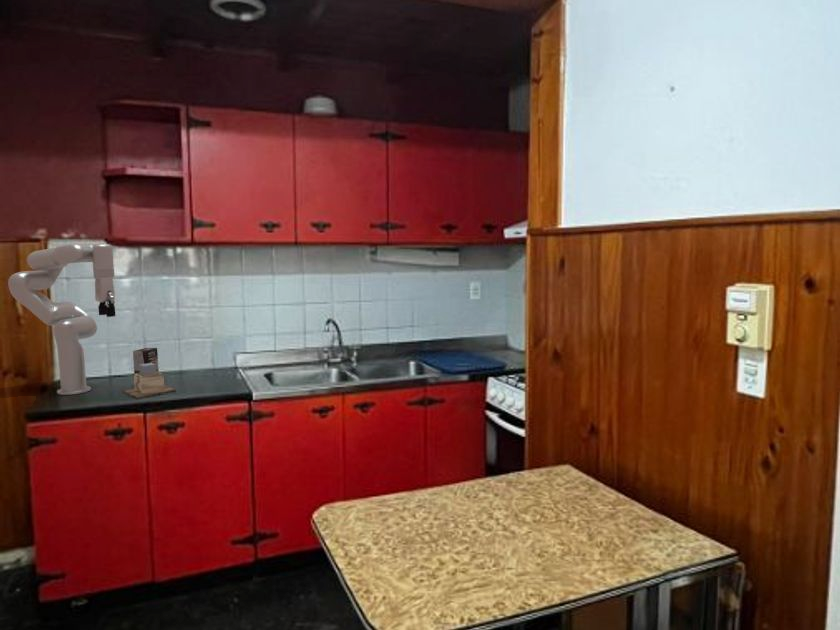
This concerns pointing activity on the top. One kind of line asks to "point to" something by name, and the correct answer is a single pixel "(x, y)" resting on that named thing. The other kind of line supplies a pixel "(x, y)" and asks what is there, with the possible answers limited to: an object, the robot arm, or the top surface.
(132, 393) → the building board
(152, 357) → the coffee box
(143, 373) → the grey cube
